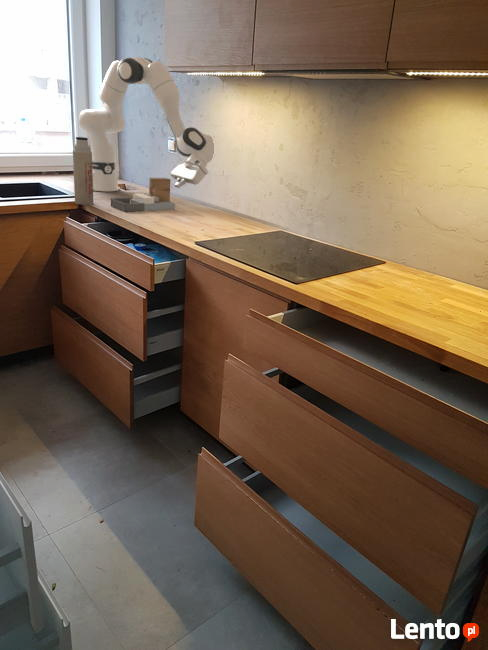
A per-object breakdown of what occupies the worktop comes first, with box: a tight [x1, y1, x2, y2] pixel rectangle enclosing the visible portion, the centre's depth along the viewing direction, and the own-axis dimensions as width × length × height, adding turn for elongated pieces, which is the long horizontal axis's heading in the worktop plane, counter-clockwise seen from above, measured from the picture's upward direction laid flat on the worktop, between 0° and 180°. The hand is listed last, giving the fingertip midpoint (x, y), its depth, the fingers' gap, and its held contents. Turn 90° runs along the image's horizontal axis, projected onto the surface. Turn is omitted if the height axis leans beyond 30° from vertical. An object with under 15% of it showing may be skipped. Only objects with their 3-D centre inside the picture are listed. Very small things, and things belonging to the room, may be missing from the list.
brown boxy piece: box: [143, 177, 171, 204], centre depth 227 cm, size 12×9×10 cm
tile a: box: [132, 193, 148, 201], centre depth 225 cm, size 5×5×2 cm
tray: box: [110, 197, 145, 213], centre depth 219 cm, size 13×10×4 cm
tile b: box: [139, 196, 154, 204], centre depth 221 cm, size 5×5×2 cm
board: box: [130, 198, 176, 212], centre depth 228 cm, size 12×16×3 cm
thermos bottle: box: [72, 136, 94, 206], centre depth 217 cm, size 8×8×28 cm
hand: (176, 186), depth 232 cm, fingers closed
